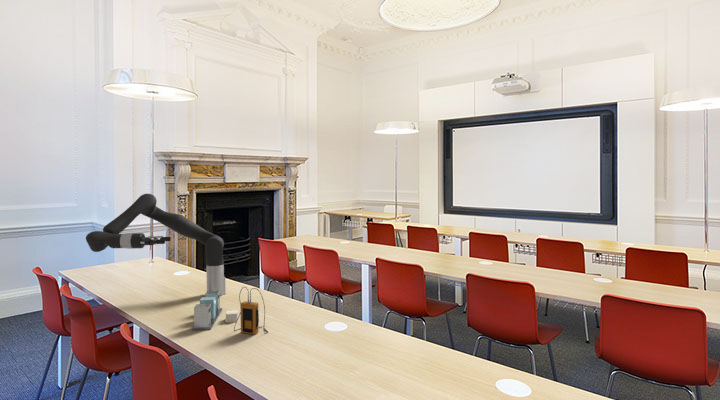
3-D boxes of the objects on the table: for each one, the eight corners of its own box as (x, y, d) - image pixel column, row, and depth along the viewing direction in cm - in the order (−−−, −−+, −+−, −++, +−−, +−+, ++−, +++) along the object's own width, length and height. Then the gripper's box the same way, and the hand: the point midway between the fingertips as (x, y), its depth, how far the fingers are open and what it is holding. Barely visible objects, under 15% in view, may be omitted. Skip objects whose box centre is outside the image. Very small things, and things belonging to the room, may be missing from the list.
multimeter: (275, 328, 173) (274, 283, 173) (262, 336, 164) (262, 289, 163) (246, 324, 178) (246, 280, 177) (233, 332, 169) (232, 286, 168)
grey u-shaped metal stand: (205, 310, 196) (205, 291, 195) (222, 310, 197) (222, 290, 197) (191, 330, 170) (191, 307, 170) (211, 329, 171) (210, 306, 171)
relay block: (226, 319, 185) (226, 310, 185) (238, 318, 186) (237, 310, 186) (225, 322, 180) (225, 314, 180) (237, 322, 181) (237, 313, 181)
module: (202, 316, 185) (202, 297, 185) (216, 315, 186) (216, 296, 186) (200, 319, 181) (199, 300, 180) (214, 318, 182) (214, 299, 181)
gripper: (126, 235, 187) (162, 234, 189) (138, 231, 201) (172, 231, 203) (126, 251, 187) (163, 250, 190) (138, 246, 201) (172, 245, 204)
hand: (167, 240), depth 196 cm, fingers open, 8 cm apart
